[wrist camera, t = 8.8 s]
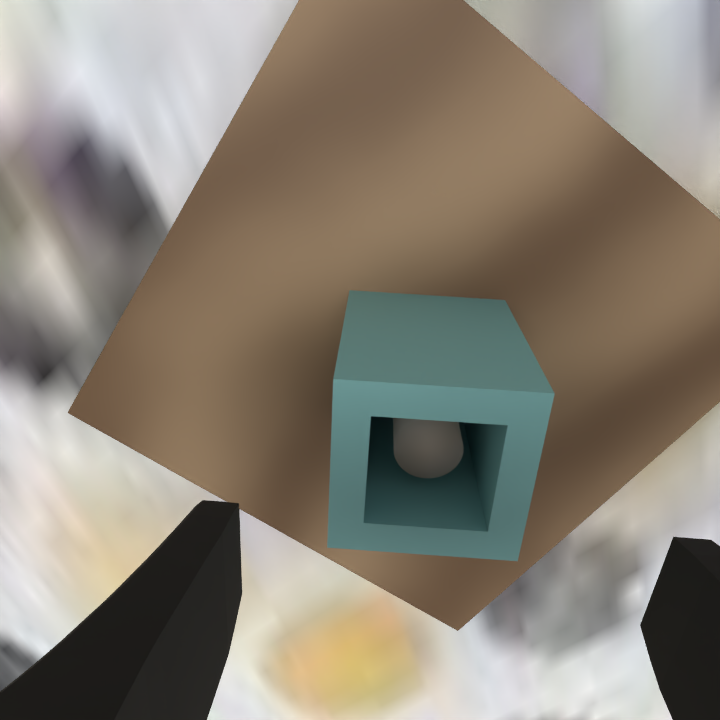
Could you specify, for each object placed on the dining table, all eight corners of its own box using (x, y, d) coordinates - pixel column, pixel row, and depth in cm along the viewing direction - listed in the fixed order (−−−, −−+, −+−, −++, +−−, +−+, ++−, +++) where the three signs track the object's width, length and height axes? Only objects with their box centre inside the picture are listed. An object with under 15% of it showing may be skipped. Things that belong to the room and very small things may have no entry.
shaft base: (802, 297, 17) (969, 384, 12) (455, 609, 23) (473, 753, 18) (354, -84, 14) (336, -176, 9) (82, 397, 20) (-21, 504, 15)
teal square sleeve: (504, 300, 17) (554, 393, 12) (483, 432, 19) (517, 561, 14) (349, 290, 17) (333, 379, 12) (343, 423, 19) (327, 547, 14)
